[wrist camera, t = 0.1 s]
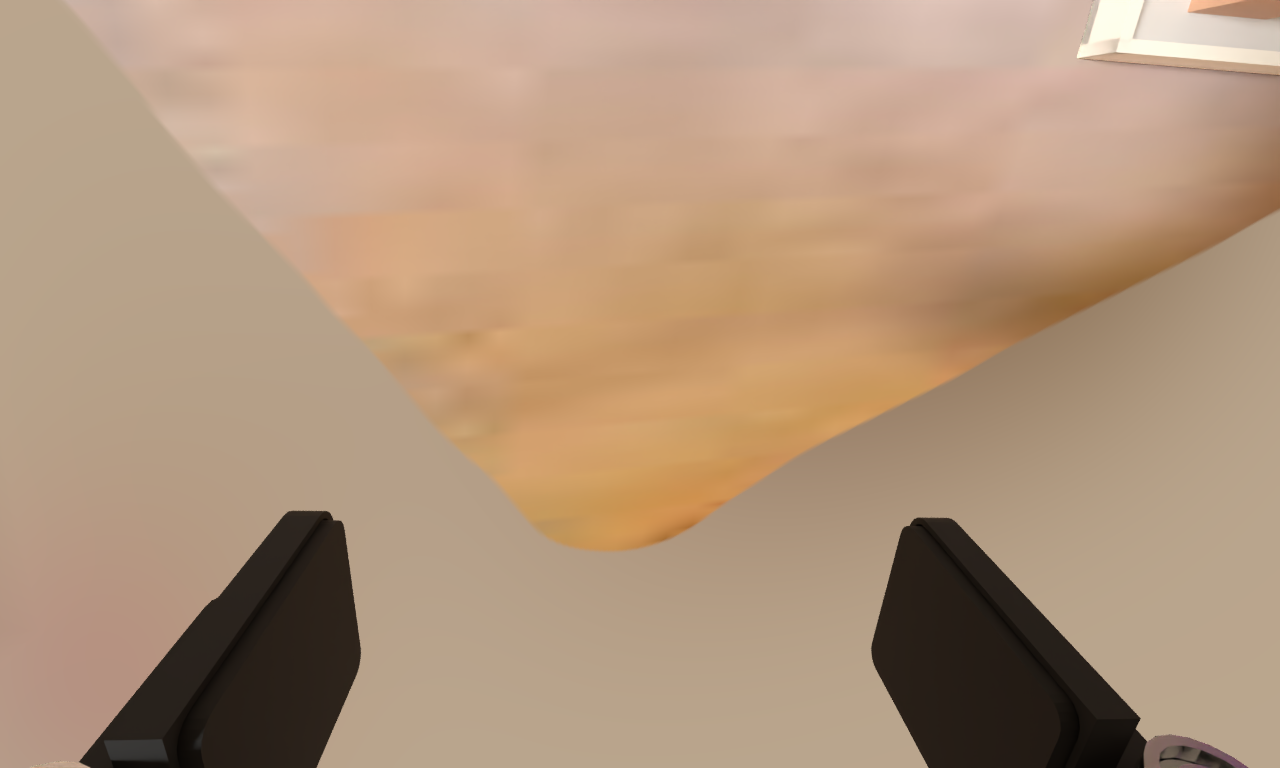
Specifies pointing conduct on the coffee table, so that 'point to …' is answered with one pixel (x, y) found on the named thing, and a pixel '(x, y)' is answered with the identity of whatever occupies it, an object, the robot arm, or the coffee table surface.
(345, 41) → the coffee table surface
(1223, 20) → the sorting box
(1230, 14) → the plain light orange cube
